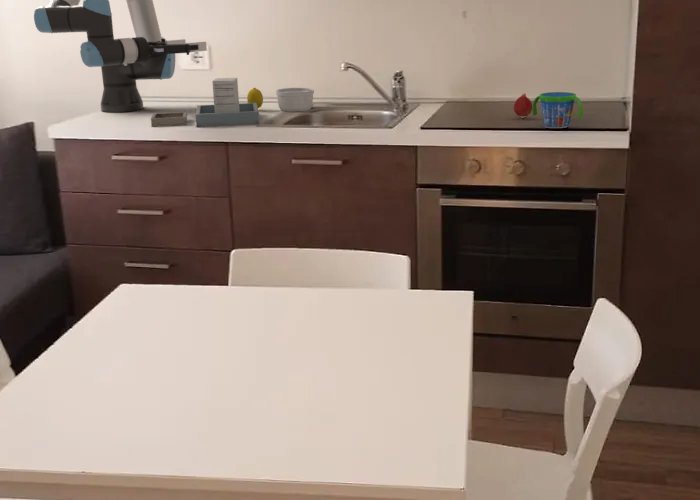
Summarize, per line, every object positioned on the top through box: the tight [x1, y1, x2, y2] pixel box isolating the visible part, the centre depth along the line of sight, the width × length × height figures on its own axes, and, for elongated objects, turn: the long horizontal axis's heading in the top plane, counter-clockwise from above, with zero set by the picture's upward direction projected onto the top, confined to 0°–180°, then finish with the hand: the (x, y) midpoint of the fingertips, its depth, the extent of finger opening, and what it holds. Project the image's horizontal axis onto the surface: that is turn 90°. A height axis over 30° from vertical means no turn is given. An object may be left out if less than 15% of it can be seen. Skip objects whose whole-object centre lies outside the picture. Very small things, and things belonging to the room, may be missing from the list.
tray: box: [195, 102, 260, 128], centre depth 292 cm, size 20×20×4 cm
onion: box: [513, 93, 533, 117], centre depth 279 cm, size 6×6×8 cm
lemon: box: [246, 87, 264, 109], centre depth 310 cm, size 6×6×8 cm
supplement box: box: [212, 77, 240, 113], centre depth 290 cm, size 7×7×13 cm
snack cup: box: [531, 91, 584, 127], centre depth 261 cm, size 16×10×10 cm
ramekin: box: [275, 87, 315, 113], centre depth 310 cm, size 13×13×7 cm
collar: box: [150, 111, 188, 127], centre depth 291 cm, size 11×11×2 cm
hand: (195, 44), depth 279 cm, fingers open, 13 cm apart
